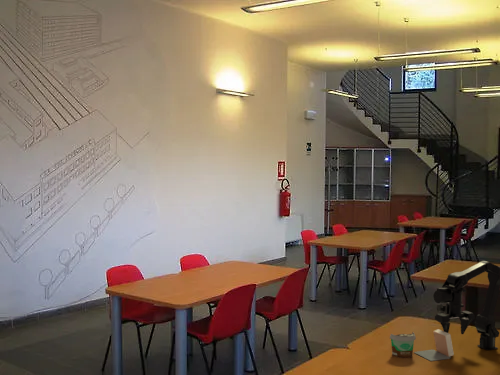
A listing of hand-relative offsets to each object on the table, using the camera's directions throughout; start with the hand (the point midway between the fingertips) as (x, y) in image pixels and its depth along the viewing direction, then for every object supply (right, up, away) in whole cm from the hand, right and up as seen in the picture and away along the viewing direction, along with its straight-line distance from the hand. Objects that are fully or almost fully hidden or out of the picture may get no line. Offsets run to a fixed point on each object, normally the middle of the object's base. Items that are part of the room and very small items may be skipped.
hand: (454, 335), depth 252 cm
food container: (-24, -8, -6) cm, 26 cm away
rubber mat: (-12, -8, -4) cm, 15 cm away
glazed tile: (-5, -8, -2) cm, 9 cm away
